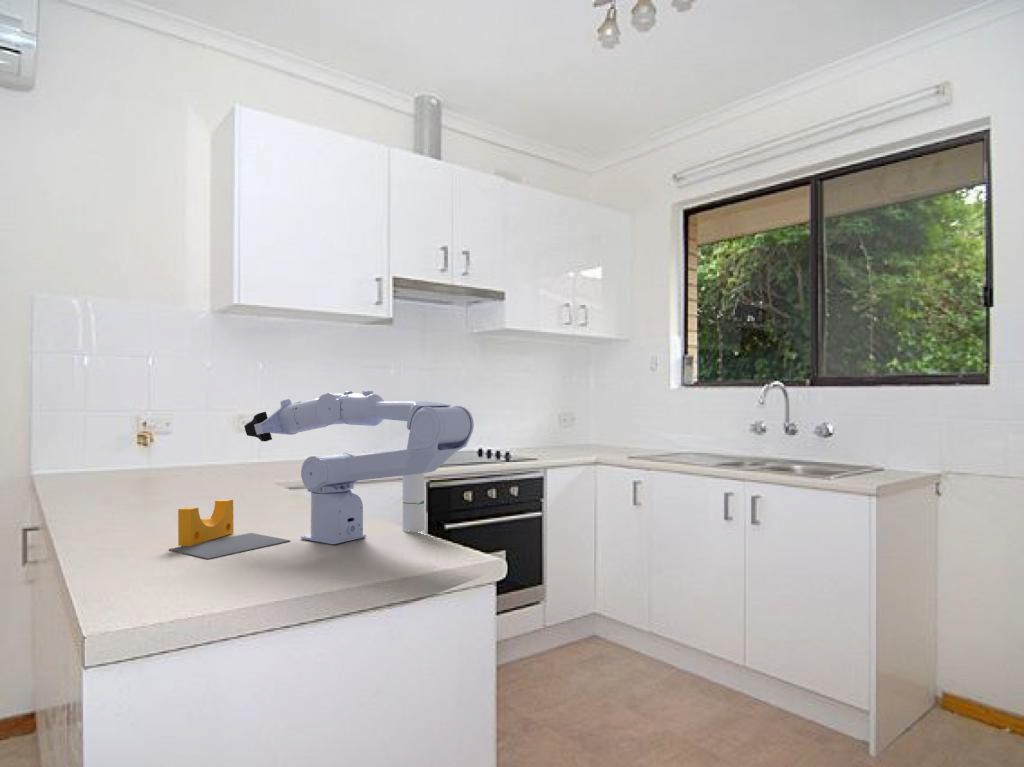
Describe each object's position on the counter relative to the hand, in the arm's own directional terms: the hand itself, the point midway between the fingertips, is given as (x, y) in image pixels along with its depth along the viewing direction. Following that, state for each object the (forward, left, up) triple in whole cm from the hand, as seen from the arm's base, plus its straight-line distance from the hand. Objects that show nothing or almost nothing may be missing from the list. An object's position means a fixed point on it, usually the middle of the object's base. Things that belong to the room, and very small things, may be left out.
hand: (262, 425), depth 133 cm
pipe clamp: (-1, +14, -21) cm, 25 cm away
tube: (-28, -14, -21) cm, 38 cm away
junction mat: (-10, +14, -21) cm, 27 cm away
